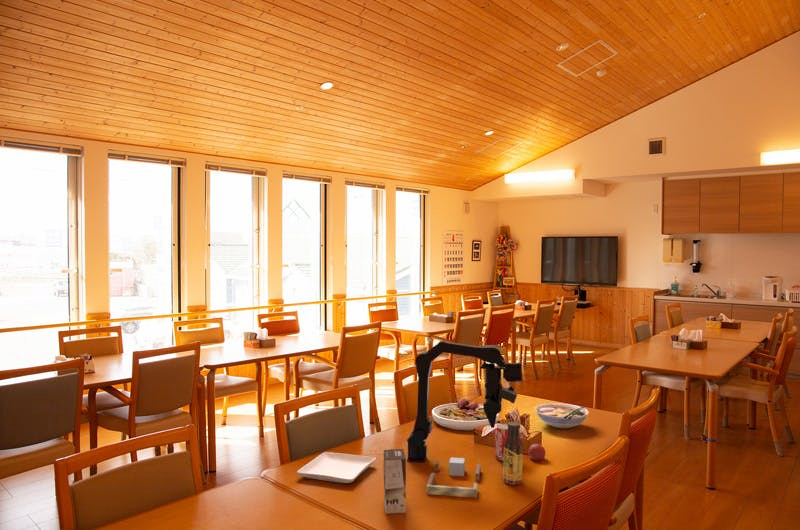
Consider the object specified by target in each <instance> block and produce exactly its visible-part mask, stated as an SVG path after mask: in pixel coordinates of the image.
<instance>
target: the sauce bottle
mask: <svg viewBox="0 0 800 530" xmlns="http://www.w3.org/2000/svg"><path fill="white" fill-rule="evenodd" d="M507 425H508V436H507V439H506V442H505V445H504V457H503V461H502V462H503V463H502V464H503V465H502V469H503V470H502V477H503V478H502V480H503V482H504V483H505V484H507V485H511V486H517V485H520V484H522V482H523V481H522V479H523V457H524V456H523V455H524V454H523V453H524V452H523V446H524V445H523V443H522V440H521V438H520V429H521V423H520V422H517V421H509V422H507Z"/></svg>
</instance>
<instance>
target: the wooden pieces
mask: <svg viewBox="0 0 800 530" xmlns="http://www.w3.org/2000/svg"><path fill="white" fill-rule="evenodd" d="M475 468H476V469H475V475H474V476H475V478H474V479H475V482H473V487H464V486H454V485H452V486H451V485H435V482H436V473H435V472H439V470H440V461H439V460H437V461H435V462H434V472H431V473H430V475H429V477H428V481H427V484H426V495H437V496H447V497H449V496H450V497H461V498H463V497H464V498H474V499H476V498H477V497H478V492H479V491H478V490H479V488H478V487H479V485H478V483H477V482H479V481H480V478H481V477H480V476H481V463H477V464H476V467H475Z"/></svg>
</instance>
